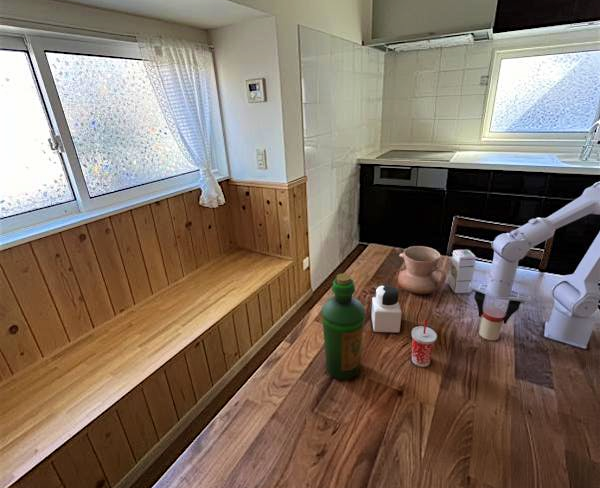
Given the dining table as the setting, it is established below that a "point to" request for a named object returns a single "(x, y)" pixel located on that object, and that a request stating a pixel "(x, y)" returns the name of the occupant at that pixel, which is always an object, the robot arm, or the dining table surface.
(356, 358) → the bottle
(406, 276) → the ceramic jug
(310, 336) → the dining table surface
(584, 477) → the dining table surface
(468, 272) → the syrup box
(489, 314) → the jar lid
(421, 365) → the beverage cup
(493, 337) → the jam jar
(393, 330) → the container
